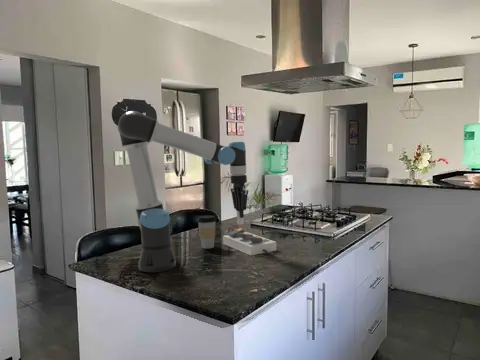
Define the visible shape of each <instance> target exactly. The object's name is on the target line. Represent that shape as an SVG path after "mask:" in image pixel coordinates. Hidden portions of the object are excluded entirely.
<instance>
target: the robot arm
mask: <svg viewBox="0 0 480 360" xmlns="http://www.w3.org/2000/svg"><path fill="white" fill-rule="evenodd" d="M117 129H118V133H119V136H120V141H121V146H122V148H124V149H125V150H126V152H127V157H128V162H129V166H130V171H131V176H132V181H133V185H134V189H135V194H136V198H137V199H136V200H137V203H138V204H137V205H136V207H135V210H136V217H137V224H138V227H139V229H140V236H141V237H140V238H141V239H140V240H141V252H140V256H139V260H138V263H137V264H138V265H137V266H138V270H139V271H140V272H145V273H160V272H161V273H162V272H166V271H169V270H172V269H174V268H175V267H176V266H177V261H176V258H175V254H174V251H173V249H172V244H171V243H172V242H171V241H172V240H171V225H170V224H171V223H170V221H171V217H170V213H169V211H168V210H166V209H165V208H164V205H163V202H162V201H161V200H159V198H158V194H157V188H156V183H155V179H154V176H153V175H154V174H153V169H152V164H151V160H150V154H149V149H148V145H149V144H150V143H152V142H155V143H157V144H161V145H164V146H167V147H170V148H172V149H173V148H174V149H175V150H179V151H182V152H184V153H187V154H190V155H193V156H197V157H200V158H203V160H204V162H205V164H207V165H209V164H210V165H213V164H219V165H224V166H226V165H227V166H228V165H229V166H230V167H229V168H230V169H229V170H230V183H231V184H232V188H230V192H231V198H232V204H233V209H235V210H236V220H237V221H236V222H237V223H236V224H237V225H239V226H240V225H245V220H244V218H245V217H244V216H245V215H244V214H245V213H244V211H245V210H247V206H248V205H247V203H248V195H249V190H248V189H246V185H245V184H246V183H247V182H248V177H247V176H248V175H246V174H247V159H246V158H247V157H246V154H247V151H246V144H245V142H244V141H231V142H229V143H228V146H224V145H221V144H219V143H216V142H213V141H210V140H208V139H205V138H201V137H198V136H196V135H194V134H190V133H187V132H184V131H181V130H180V129H177V128H176V129H175V128H173V127H171V126H168V125H165V124H162V123H159V121H158V119H155V118H152V117H150V116H147V115H146V114H143V113H141V112H139V111H136V110H130V111H126V112H125V113H123V114H122V115H121V116H120V118H119V119H118V123H117Z"/></svg>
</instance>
